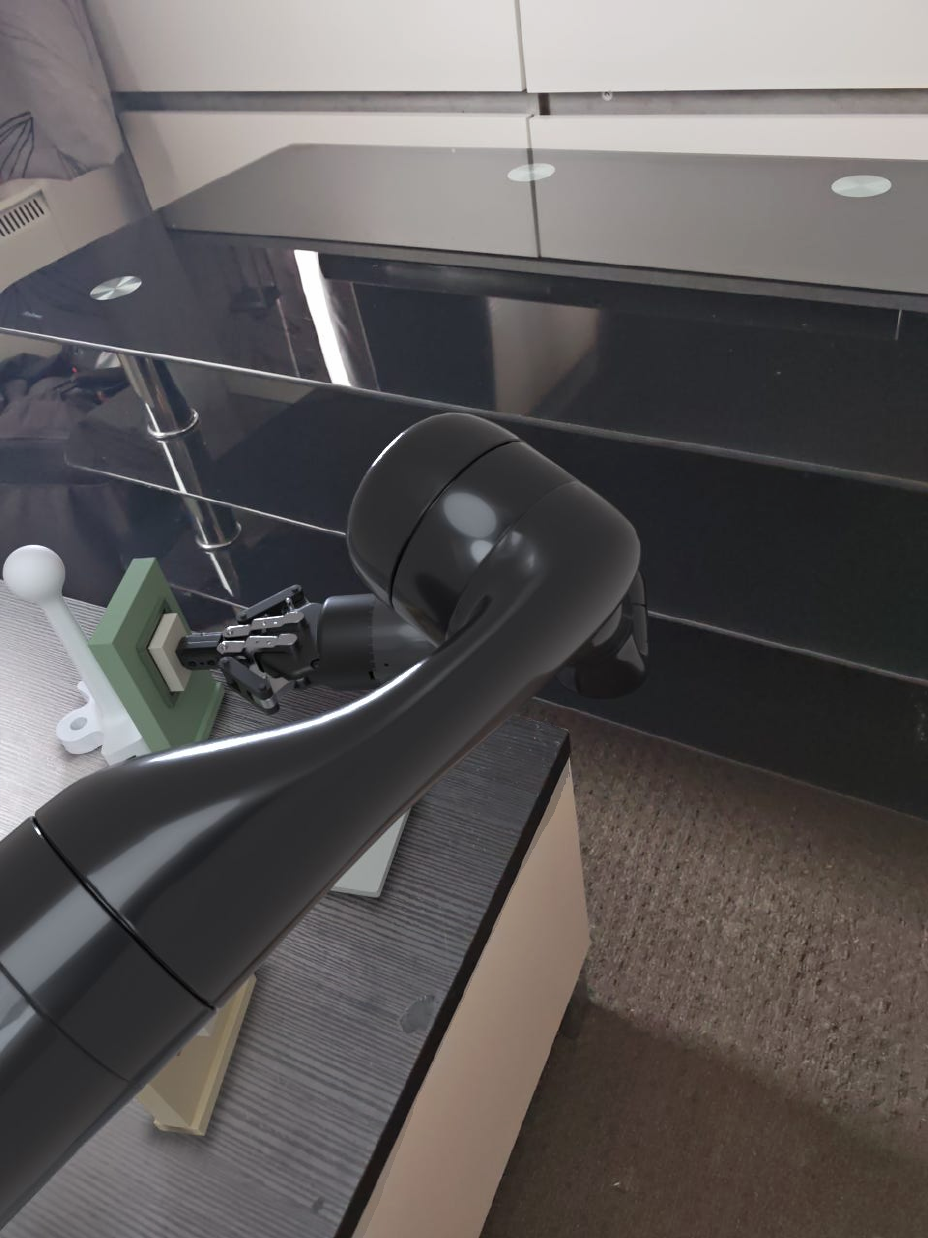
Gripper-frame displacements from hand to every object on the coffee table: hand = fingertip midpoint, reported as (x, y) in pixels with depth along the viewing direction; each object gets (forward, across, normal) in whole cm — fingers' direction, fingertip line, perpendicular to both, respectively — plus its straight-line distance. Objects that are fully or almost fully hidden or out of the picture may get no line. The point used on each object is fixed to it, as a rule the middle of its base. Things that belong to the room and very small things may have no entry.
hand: (181, 652), depth 74 cm
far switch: (+1, 0, +2) cm, 2 cm away
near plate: (-8, +27, +10) cm, 30 cm away
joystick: (+11, -1, +10) cm, 15 cm away
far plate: (+2, 0, +10) cm, 10 cm away
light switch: (-9, +10, +10) cm, 17 cm away
